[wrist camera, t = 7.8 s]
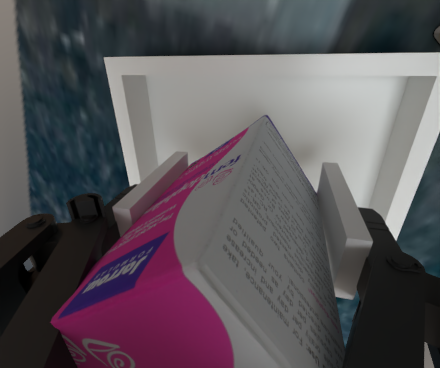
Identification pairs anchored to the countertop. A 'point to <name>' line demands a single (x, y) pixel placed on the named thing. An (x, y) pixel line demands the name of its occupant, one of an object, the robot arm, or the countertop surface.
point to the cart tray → (288, 114)
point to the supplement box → (215, 272)
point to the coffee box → (437, 34)
